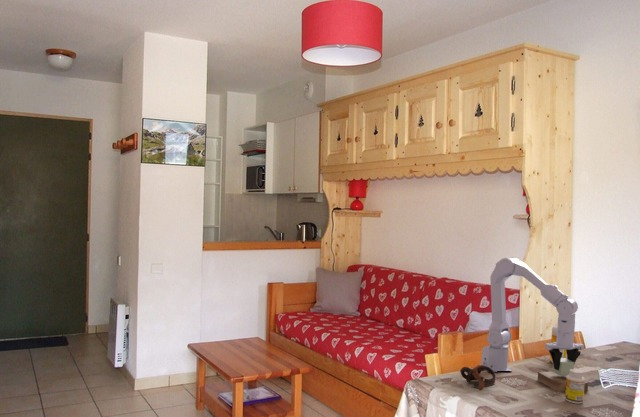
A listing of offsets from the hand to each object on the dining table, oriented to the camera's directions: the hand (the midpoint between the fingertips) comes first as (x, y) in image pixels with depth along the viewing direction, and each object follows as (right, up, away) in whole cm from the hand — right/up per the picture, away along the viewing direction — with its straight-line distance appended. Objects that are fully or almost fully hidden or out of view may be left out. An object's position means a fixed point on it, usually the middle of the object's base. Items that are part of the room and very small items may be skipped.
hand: (563, 369), depth 200 cm
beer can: (+11, -6, +30) cm, 32 cm away
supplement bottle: (-3, -6, -16) cm, 17 cm away
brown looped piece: (-33, -4, -5) cm, 33 cm away
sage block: (0, -2, 0) cm, 2 cm away
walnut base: (0, -6, 0) cm, 6 cm away
